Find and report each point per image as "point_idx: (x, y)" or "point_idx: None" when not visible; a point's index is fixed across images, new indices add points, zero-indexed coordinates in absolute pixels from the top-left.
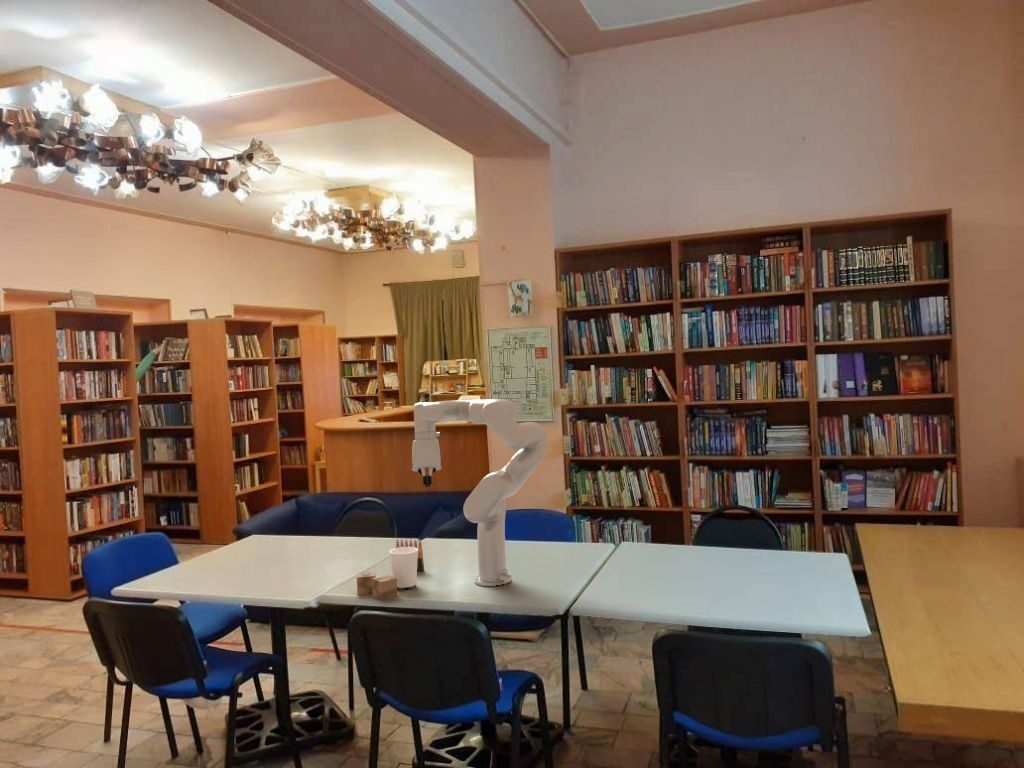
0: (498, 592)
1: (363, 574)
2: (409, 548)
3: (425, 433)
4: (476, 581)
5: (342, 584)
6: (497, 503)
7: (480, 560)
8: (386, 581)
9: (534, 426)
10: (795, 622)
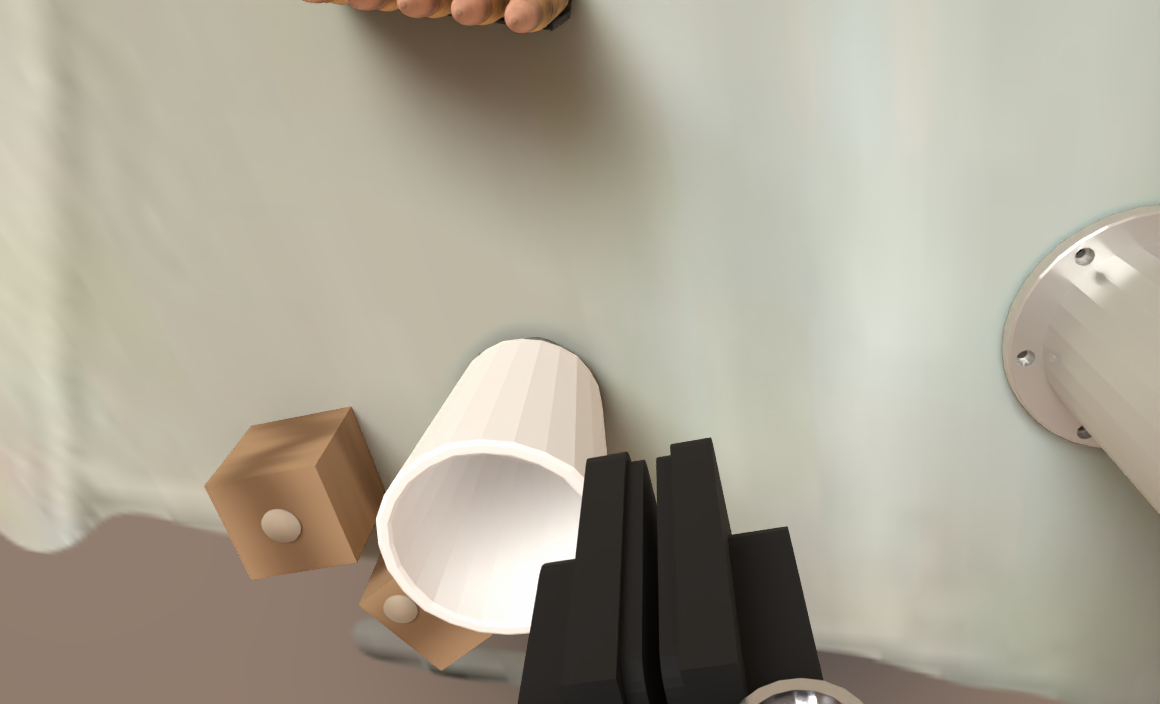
0: (1133, 538)
1: (268, 536)
2: (519, 454)
3: None
4: (1017, 395)
5: (88, 308)
6: None
7: (1121, 469)
8: (468, 648)
9: None
10: None
